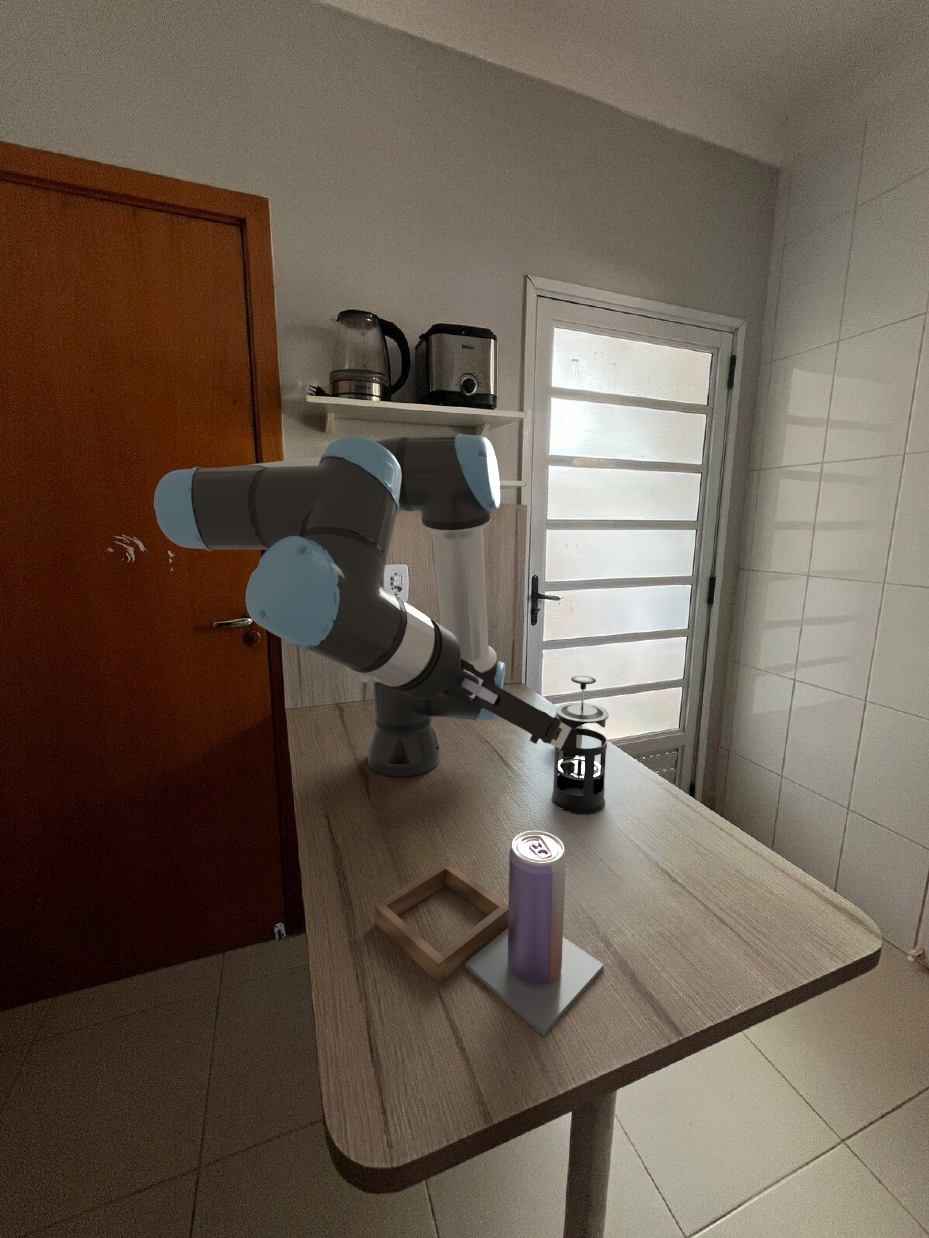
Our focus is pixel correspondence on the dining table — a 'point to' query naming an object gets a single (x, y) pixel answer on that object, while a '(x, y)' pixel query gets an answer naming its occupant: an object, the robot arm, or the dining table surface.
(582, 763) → the french press
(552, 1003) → the slate coaster
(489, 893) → the walnut holder
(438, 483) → the robot arm
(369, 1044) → the dining table surface
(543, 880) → the beverage can
